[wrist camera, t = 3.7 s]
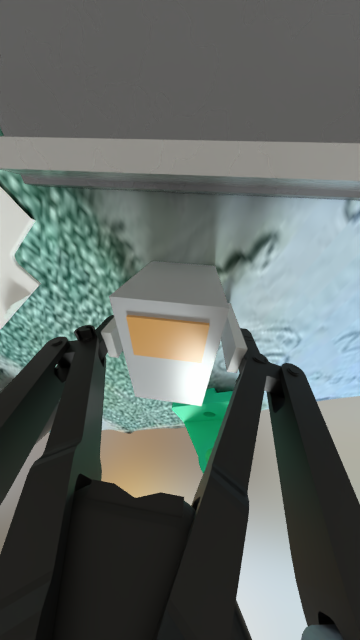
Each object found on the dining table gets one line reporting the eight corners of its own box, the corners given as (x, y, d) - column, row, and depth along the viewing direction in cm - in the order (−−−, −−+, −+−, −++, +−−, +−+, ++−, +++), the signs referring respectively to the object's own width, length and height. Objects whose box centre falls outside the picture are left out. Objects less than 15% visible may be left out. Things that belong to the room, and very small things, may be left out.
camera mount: (235, 384, 23) (255, 474, 15) (245, 406, 27) (265, 488, 19) (171, 392, 27) (159, 468, 19) (187, 411, 31) (183, 481, 23)
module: (157, 337, 19) (134, 398, 13) (152, 260, 14) (106, 298, 7) (200, 342, 19) (201, 408, 12) (214, 265, 13) (230, 310, 7)
